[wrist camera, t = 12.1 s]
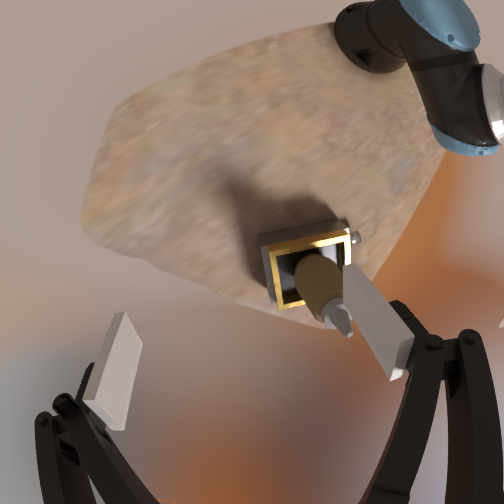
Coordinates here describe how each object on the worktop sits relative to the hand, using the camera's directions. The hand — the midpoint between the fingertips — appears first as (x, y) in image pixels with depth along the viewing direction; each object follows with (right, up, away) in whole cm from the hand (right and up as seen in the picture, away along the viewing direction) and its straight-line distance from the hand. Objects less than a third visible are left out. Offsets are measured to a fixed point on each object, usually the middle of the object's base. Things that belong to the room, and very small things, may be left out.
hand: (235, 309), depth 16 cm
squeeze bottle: (+11, +1, +34) cm, 36 cm away
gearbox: (+12, +3, +39) cm, 41 cm away
